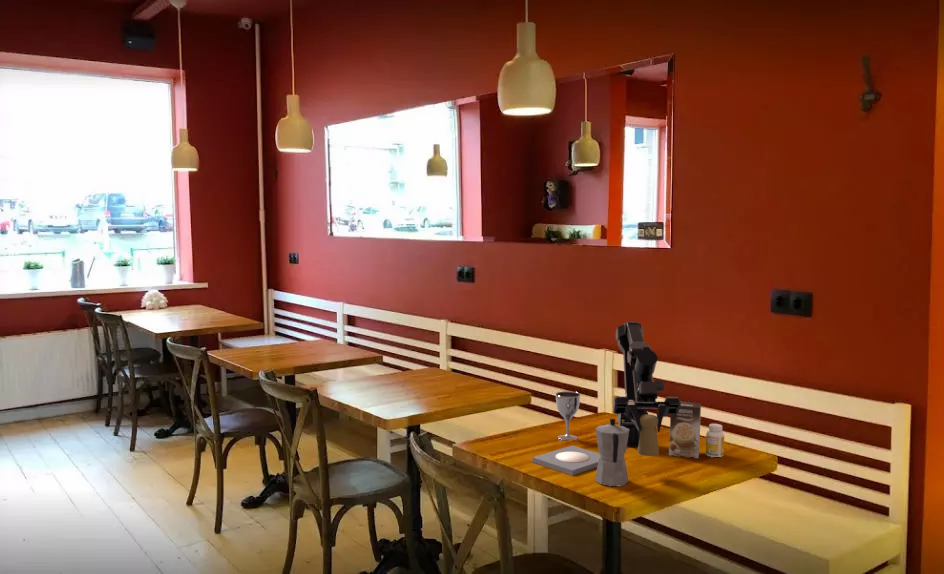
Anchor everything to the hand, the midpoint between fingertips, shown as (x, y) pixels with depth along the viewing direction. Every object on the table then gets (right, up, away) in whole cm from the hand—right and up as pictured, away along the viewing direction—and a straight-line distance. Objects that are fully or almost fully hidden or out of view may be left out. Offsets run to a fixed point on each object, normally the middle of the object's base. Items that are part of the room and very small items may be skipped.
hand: (649, 431), depth 222 cm
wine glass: (-18, -10, +40) cm, 45 cm away
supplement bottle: (+25, -12, +21) cm, 35 cm away
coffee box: (+16, -11, +22) cm, 30 cm away
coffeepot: (-11, -14, -3) cm, 18 cm away
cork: (0, -7, +2) cm, 7 cm away
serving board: (-20, -12, +15) cm, 28 cm away
